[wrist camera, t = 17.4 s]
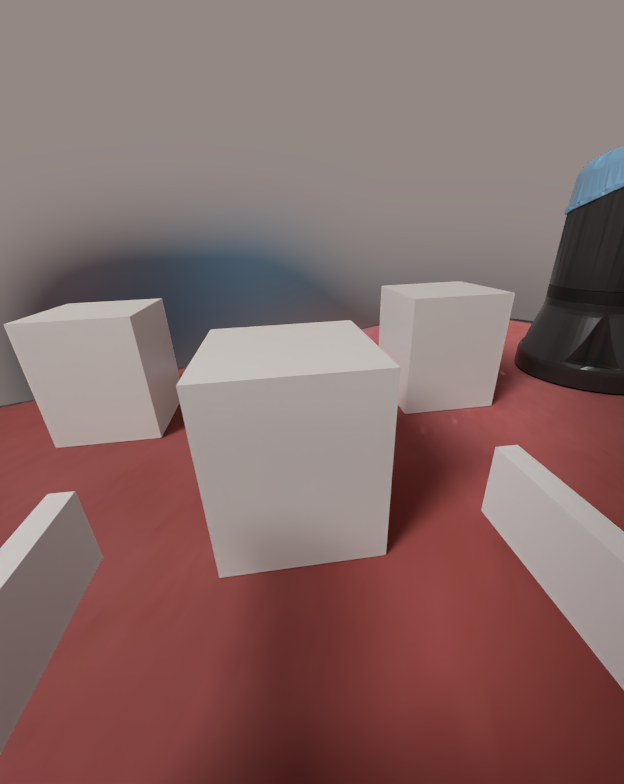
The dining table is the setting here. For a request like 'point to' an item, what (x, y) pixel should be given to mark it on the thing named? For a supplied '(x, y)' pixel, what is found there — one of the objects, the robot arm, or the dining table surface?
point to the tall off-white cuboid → (292, 443)
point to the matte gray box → (99, 370)
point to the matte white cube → (444, 342)
